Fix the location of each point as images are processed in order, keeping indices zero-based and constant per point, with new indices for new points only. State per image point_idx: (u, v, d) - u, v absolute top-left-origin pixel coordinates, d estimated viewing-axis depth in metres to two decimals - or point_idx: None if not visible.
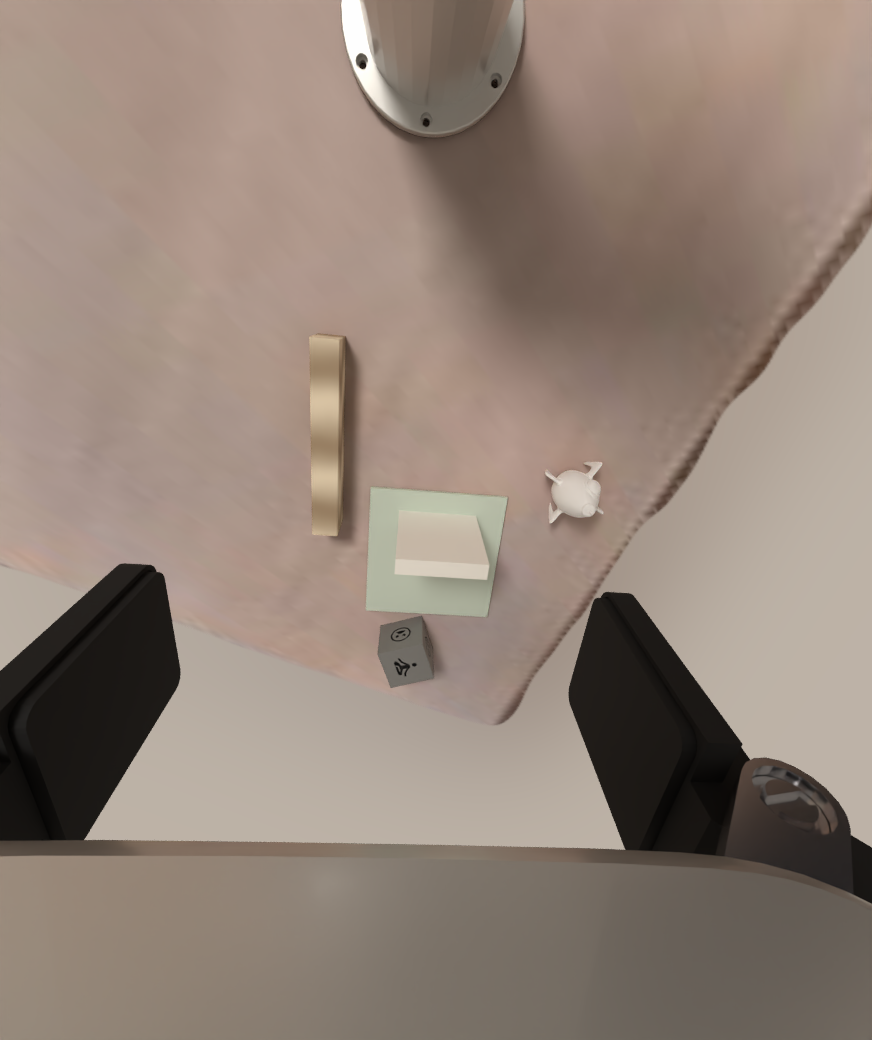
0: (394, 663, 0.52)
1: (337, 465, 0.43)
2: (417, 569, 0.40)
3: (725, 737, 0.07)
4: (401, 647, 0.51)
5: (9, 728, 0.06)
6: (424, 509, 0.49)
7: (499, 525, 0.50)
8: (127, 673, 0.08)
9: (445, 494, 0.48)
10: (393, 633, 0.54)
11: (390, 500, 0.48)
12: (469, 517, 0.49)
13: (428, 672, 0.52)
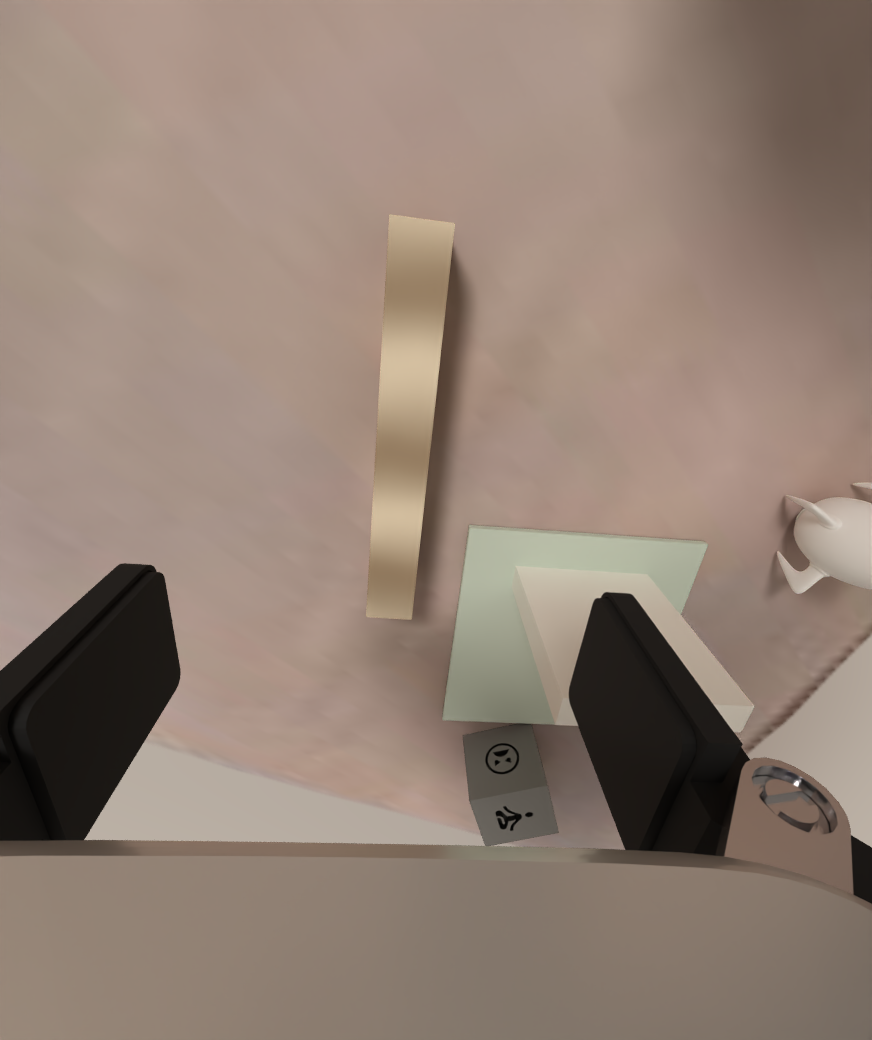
0: (495, 812, 0.31)
1: (424, 493, 0.22)
2: None
3: (725, 737, 0.07)
4: (509, 788, 0.30)
5: (9, 728, 0.06)
6: (559, 564, 0.28)
7: (684, 589, 0.29)
8: (127, 673, 0.08)
9: (599, 538, 0.27)
10: (488, 754, 0.32)
11: (502, 549, 0.27)
12: (638, 577, 0.28)
13: (551, 825, 0.31)
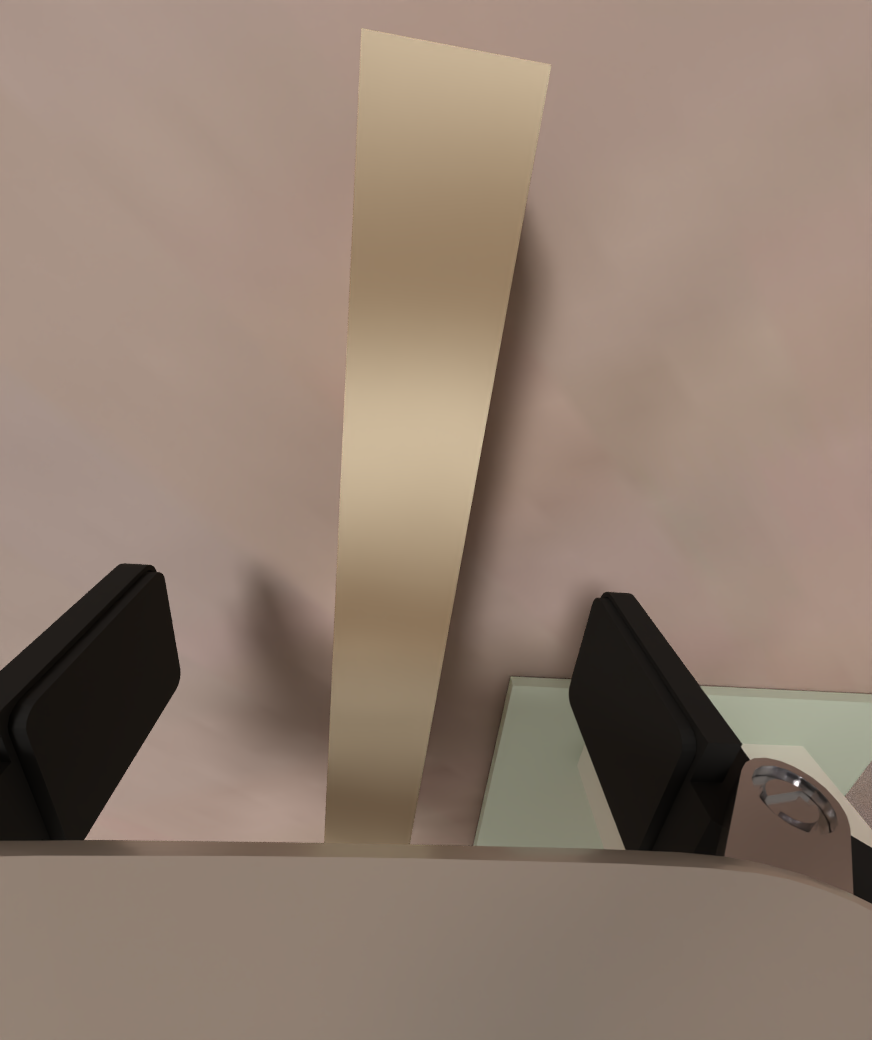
0: None
1: None
2: None
3: (725, 737, 0.07)
4: None
5: (9, 728, 0.06)
6: None
7: (858, 765, 0.18)
8: (127, 673, 0.08)
9: (732, 697, 0.16)
10: None
11: (566, 715, 0.16)
12: (792, 757, 0.17)
13: None
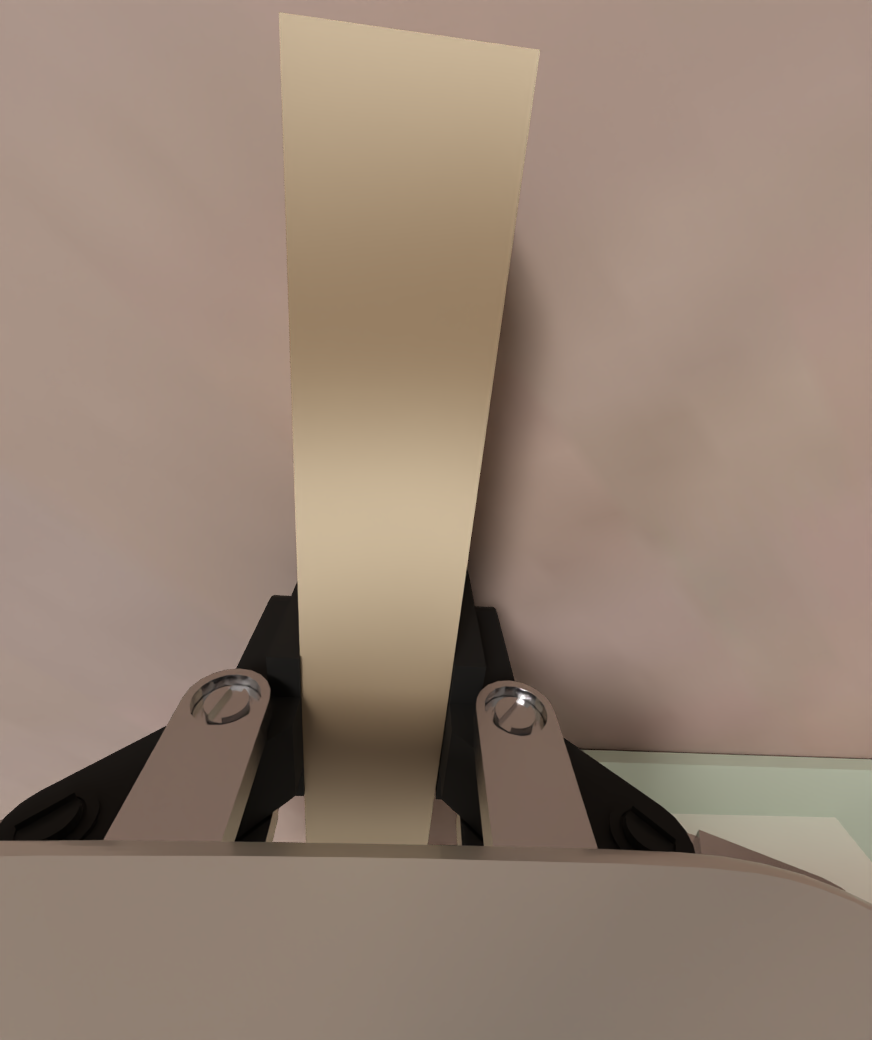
0: None
1: (430, 798, 0.09)
2: None
3: (474, 662, 0.08)
4: None
5: None
6: (679, 807, 0.15)
7: None
8: None
9: (759, 767, 0.14)
10: None
11: None
12: (825, 832, 0.15)
13: None
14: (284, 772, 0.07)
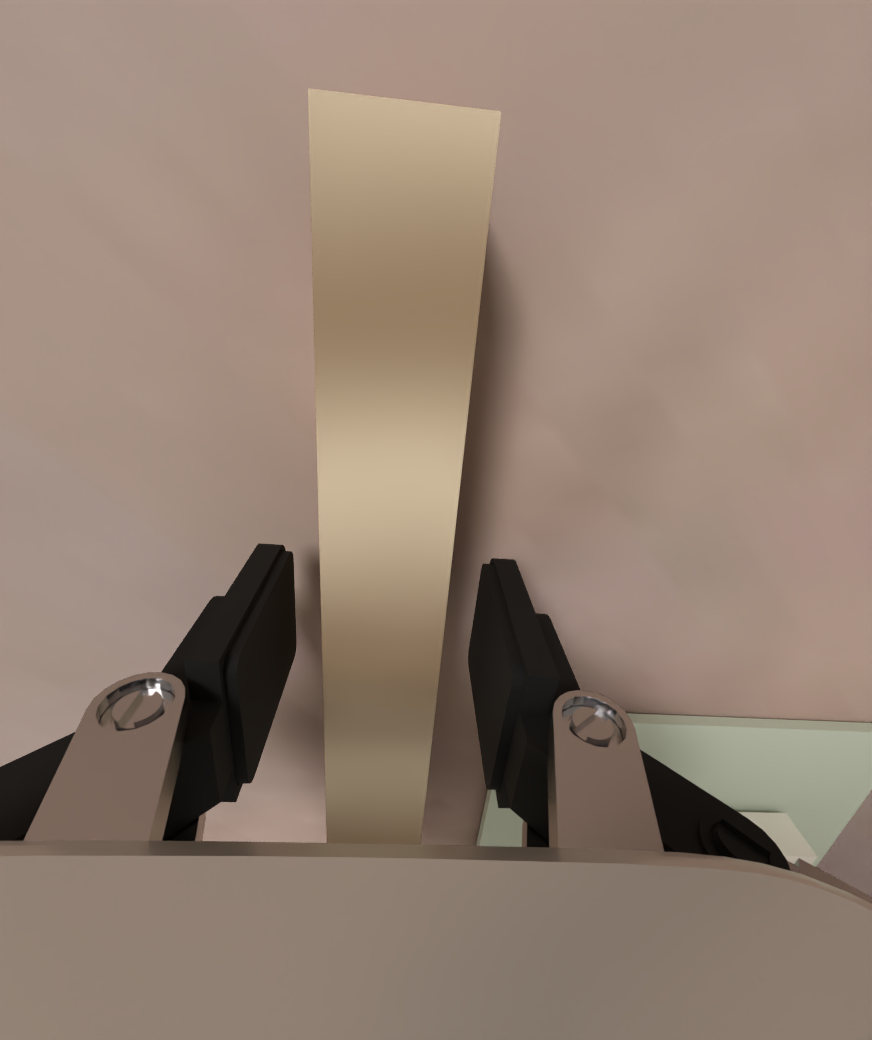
0: None
1: (430, 724, 0.11)
2: None
3: (547, 672, 0.08)
4: None
5: (225, 672, 0.07)
6: None
7: (858, 795, 0.17)
8: (275, 638, 0.10)
9: (729, 727, 0.16)
10: None
11: None
12: None
13: None
14: (204, 779, 0.07)
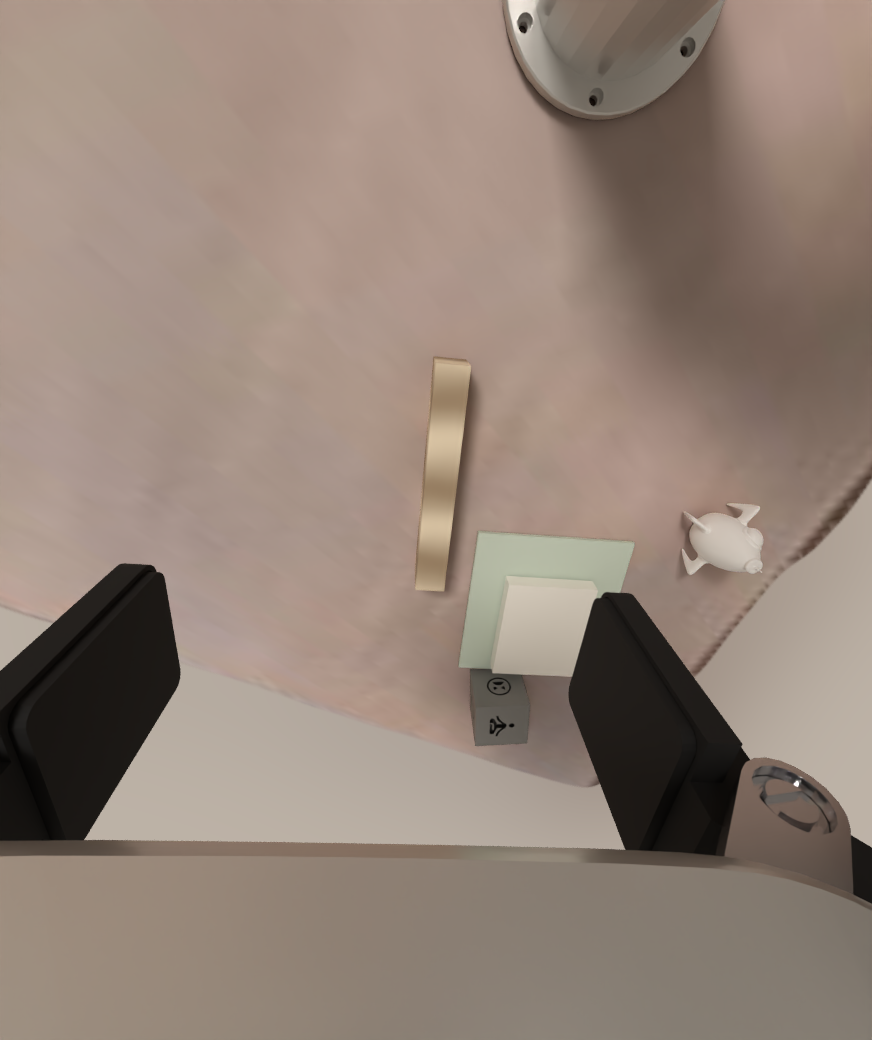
0: (489, 720, 0.44)
1: (452, 511, 0.36)
2: None
3: (725, 737, 0.07)
4: (503, 703, 0.44)
5: (9, 728, 0.06)
6: (537, 556, 0.42)
7: (621, 573, 0.43)
8: (127, 673, 0.08)
9: (563, 539, 0.42)
10: (489, 683, 0.46)
11: (499, 547, 0.42)
12: (588, 594, 0.42)
13: (523, 736, 0.45)
14: None
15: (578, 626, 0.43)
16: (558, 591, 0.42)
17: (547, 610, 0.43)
